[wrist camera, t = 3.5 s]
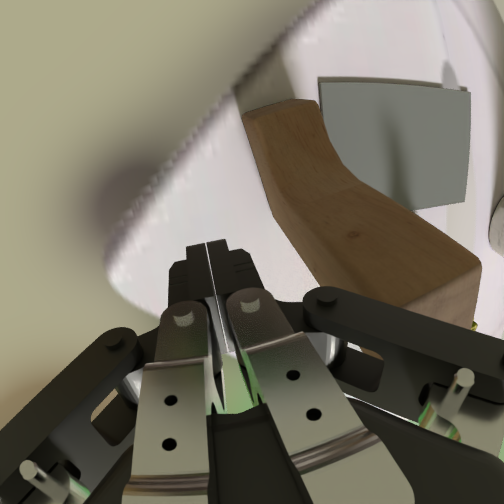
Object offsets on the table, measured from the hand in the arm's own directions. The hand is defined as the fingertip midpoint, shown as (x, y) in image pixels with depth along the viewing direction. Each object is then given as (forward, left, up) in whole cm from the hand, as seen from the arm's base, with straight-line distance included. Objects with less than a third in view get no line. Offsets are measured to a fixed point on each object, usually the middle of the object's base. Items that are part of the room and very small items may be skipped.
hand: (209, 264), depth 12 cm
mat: (-19, 0, -13) cm, 23 cm away
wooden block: (-7, 0, -14) cm, 15 cm away
